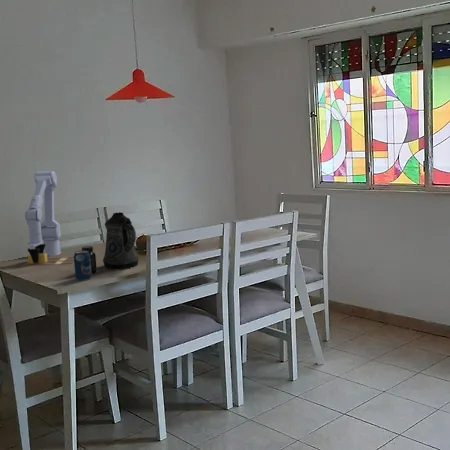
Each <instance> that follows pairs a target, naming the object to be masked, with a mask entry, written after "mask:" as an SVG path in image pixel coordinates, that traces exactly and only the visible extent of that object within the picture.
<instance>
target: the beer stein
mask: <svg viewBox="0 0 450 450" xmlns="http://www.w3.org/2000/svg"><path fill="white" fill-rule="evenodd" d="M132 223H133V222H132V221H131V219H130V218H129V217H128V216H126V215H125V214H124V213H123V212H114V213H113V214H112V215H111V217H110V218H108V219H107V220H106V221H105V222H104V228H105V229H106V236H105V237H106V238H105V251H104V255H103V259H102V262H103V266H104V268H105V269H106V270H111V271H112V270H115V269H118V270H126V268H127V269H132V268H135V267H137V266H138V265H139V261H140V260H139V257H140V256H139V255H138V253H137V251H136V247H135V242H136V238H137V235H136V234H137V233H136V229H135V227H134V226H133V224H132ZM131 267H132V268H131ZM115 271H116V270H115Z"/></svg>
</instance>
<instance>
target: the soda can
mask: <svg viewBox="0 0 450 450" xmlns="http://www.w3.org/2000/svg"><path fill="white" fill-rule="evenodd" d="M73 257H74V262H73V265H74V275H75V276H74V277H75V278H76V280H77V281H88V280H90V279H91V278H92V275H93V274H92V271H91V260H90V254H89V252H88V251H87V250H82V249H81V250H77V251H75V252H74V255H73Z"/></svg>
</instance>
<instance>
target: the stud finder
mask: <svg viewBox="0 0 450 450" xmlns="http://www.w3.org/2000/svg"><path fill="white" fill-rule="evenodd" d="M47 258H48V256H47V253H45V252H43V253H39V257H38V263H46V262H47V261H48V259H47ZM27 262H29V264H34V263H33V260H32V257H31V255H30V254H28V255H27Z"/></svg>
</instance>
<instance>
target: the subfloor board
mask: <svg viewBox="0 0 450 450" xmlns="http://www.w3.org/2000/svg"><path fill="white" fill-rule="evenodd" d="M47 259H48V261H47V262H46V263H34V264H29V262H28V261H26V262H25V263H24V264H23V265H21V267H35V266H37V267H38V266H39V267H41V266H56V265H57V266H59V265H72V264H74V256H71V257H70V256H67V257H51V258H49V257H47Z"/></svg>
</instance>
